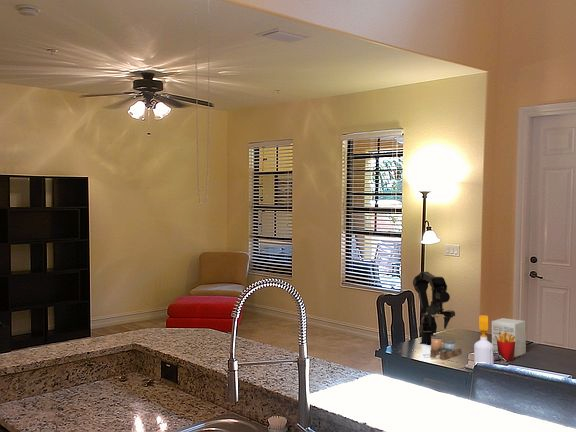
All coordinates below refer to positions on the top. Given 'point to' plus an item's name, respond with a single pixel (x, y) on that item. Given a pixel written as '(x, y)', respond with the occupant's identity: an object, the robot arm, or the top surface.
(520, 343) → the supplement box
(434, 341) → the terracotta jar
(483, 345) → the soap bottle
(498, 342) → the french fries
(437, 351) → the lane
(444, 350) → the pusher
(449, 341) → the slate jar
